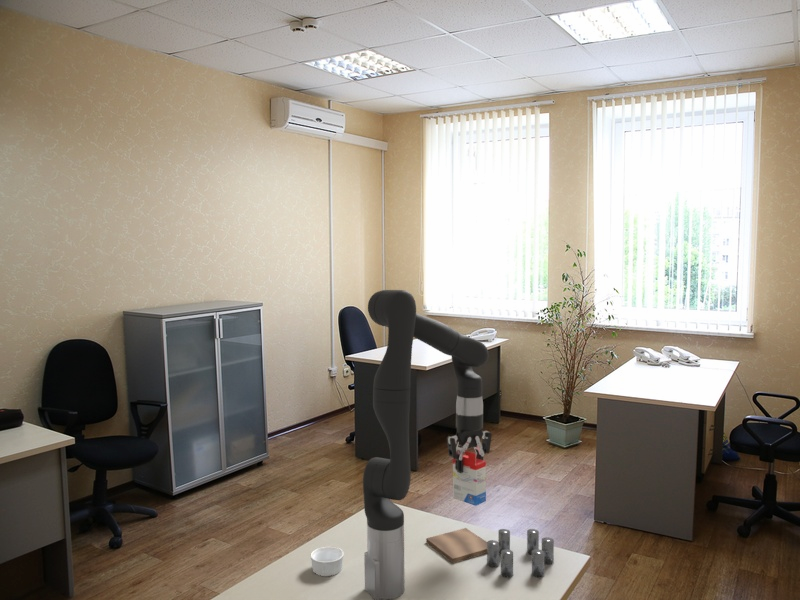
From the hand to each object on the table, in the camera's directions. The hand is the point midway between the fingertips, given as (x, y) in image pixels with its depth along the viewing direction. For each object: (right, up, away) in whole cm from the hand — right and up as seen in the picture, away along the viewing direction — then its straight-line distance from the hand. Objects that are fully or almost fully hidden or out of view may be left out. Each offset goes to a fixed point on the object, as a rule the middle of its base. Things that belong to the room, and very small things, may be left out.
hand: (469, 470), depth 171 cm
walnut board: (-2, -23, +3) cm, 23 cm away
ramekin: (-39, -24, -9) cm, 47 cm away
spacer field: (+13, -24, -6) cm, 28 cm away
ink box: (0, -9, 0) cm, 9 cm away
